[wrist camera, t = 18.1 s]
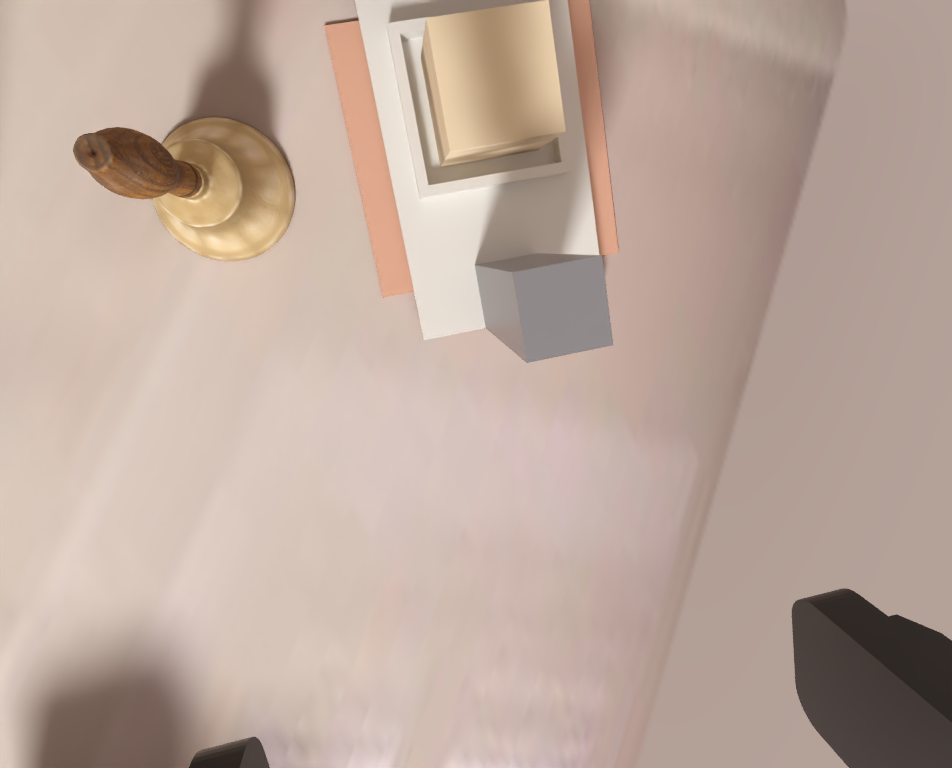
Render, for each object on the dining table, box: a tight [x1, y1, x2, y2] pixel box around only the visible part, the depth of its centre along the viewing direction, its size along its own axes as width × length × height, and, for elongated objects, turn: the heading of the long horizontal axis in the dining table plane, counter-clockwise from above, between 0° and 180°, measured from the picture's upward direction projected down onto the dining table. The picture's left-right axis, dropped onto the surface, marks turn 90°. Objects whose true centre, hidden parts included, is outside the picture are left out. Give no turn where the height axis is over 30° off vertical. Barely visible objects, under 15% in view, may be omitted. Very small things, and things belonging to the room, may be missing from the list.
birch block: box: [421, 0, 566, 167], centre depth 32 cm, size 6×6×6 cm
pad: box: [324, 0, 619, 297], centre depth 37 cm, size 16×16×1 cm
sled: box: [355, 0, 613, 363], centre depth 30 cm, size 12×20×14 cm, turn 10°
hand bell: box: [73, 117, 295, 261], centre depth 28 cm, size 8×8×16 cm
